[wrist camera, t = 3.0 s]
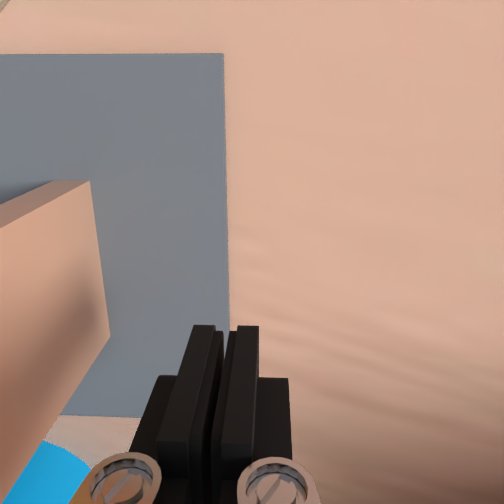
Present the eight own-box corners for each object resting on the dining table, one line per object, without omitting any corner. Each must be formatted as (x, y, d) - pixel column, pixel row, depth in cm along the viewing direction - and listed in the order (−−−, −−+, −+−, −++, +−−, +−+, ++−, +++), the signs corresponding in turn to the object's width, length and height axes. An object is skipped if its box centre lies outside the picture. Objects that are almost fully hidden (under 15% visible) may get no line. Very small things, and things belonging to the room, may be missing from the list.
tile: (89, 180, 17) (-86, 273, 9) (110, 336, 20) (-12, 523, 11) (49, 180, 17) (-163, 272, 9) (74, 335, 20) (-72, 520, 12)
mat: (223, 54, 16) (222, 53, 15) (231, 415, 22) (230, 420, 21) (-204, 56, 17) (-215, 55, 16) (-86, 403, 22) (-93, 409, 22)
